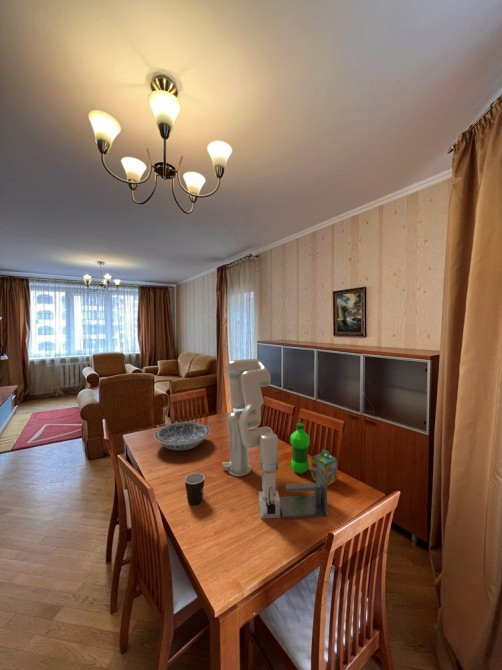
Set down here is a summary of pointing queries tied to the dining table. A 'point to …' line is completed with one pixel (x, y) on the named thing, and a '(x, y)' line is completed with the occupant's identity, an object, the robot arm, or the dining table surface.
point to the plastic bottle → (300, 449)
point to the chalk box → (325, 466)
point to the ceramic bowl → (182, 435)
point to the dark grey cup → (194, 488)
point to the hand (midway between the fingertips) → (269, 505)
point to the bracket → (306, 499)
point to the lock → (263, 506)
